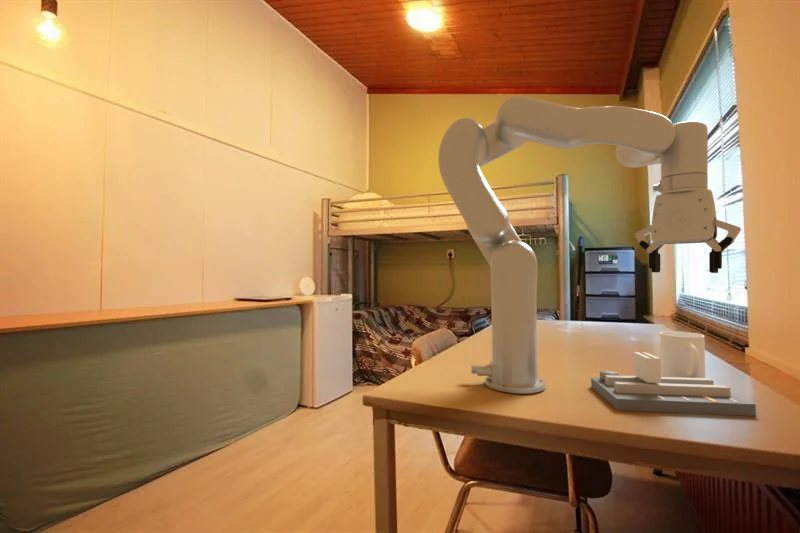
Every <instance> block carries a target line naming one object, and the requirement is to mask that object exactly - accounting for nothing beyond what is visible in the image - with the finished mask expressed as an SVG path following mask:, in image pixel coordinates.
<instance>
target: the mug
mask: <svg viewBox="0 0 800 533" xmlns="http://www.w3.org/2000/svg"><path fill="white" fill-rule="evenodd" d="M705 347H706V343H705V335H704V334H701V333H697V332H689V331H688V332H687V331H674V330H673V331H670V330H669V331H668V330H667V331H666V330H665V331H660V332H659V358H660V360H661V377H684V378H706V353H705V352H706V351H705V350H706V348H705Z"/></svg>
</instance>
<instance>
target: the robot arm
mask: <svg viewBox="0 0 800 533" xmlns="http://www.w3.org/2000/svg"><path fill="white" fill-rule="evenodd" d="M708 136H709V133H708V127H707V124H706V123H704V122H703V121H700V120H688V121H687V120H686V121H681V122H677V123H673V122H672V121H671V120H670V119H669V118H668V117H666V116H665V115H662V114H660V113H657V112H654V111H648V110H645V109H640V108H636V107H635V108H634V107H630V106H629V107H628V106H624V105H623V106H622V105H608V106H607V105H605V106H588V107H575V106H569V105H568V106H567V105H563V104H560V103H555V102H550V101H545V100H540V99H536V98H531V97H526V96H519V95H516V96H515V95H514V96H510V97H508V98H506V99H505V100H503V102H501V105H500V106H499V107H498V111H497V112H496V118H495V121H494V122H492V123H491V124H488V125H487V126H485V127H483V126H482V125H481V124H480V122H478V121H477V120H475V119H473V118H471V117H462V118H459V119H457V120H455V121H454V122H453V123H451V124H450V125H449V126H448V128H447V129H446V131H445V133H444V134H443V136H442V139H441V141H440V145H439V150H438V168H439V173H440V176H441V180H442V182H443V184H444V187H445V189H446V190H447V192H448V194H449V196H450V197H451V198H450V199H451V200H452V201H453V203H454V205H455V207H456V208H457V210H458V212H459V213H460V214H461V215H460V216H461V217H462V218H463V220H464V222H465V224H466V227H467V230H468V232H469V234H470V236H471V237H472V239H473V240H474V242H475V244H476V245H477V247H478V249H479V251H480V252H481V254H482V256H483V257H484V258H485V260H486V262H487V263H488V265H489V268H490V288H491V289H490V294H491V295H490V296H491V297H490V298H491V300H490V301H491V302H490V304H491V306H490V308H491V353H492V354H491V359H492V360H489V364H485V365H479V364H478V365H476V364H472V365H471V367H470V368H471V375H476V376H477V377H483V376H485V379H484V383H485V385H486V386H487V387H488V388H490V389H492V390H494V391H495V390H496V391H498V392H503V393H509V394H523V395H524V394H525V395H526V394H536V393H540V392H543V391H544V390H545V389H546V381H545V380H544V379H542V378H540V377H539V374H538V373H539V372H538V371H539V369H538V368H539V367H538V365H539V364H538V361H539V360H538V314H537V313H538V312H537V311H538V308H537V307H538V306H537V304H538V303H537V300H538V299H537V298H538V297H537V296H538V295H537V292H538V291H537V290H538V287H537V286H538V270H539V268H538V259H537V256H536V253H535V252H534V250H533V249H532V247H531V246H529V245H528V243H525V242H524V241H522V239H521V238H520V236H519V235H518V234H517V231H516V230H515V227H513V225H512V223H511V221H510V217H509V214H508V211H507V210H506V208H505V207H504V205H502V203H501V202H500V200H499V199H498V197H497V196H496V194H495V192H494V191H493V190H492V188H491V186H490V184H489V183H488V181H487V179H486V178H485V175H484V174H483V172H482V171H481V167H483V166H485V165H488V164H489V163H491V162H494V161H495V160H497V159H499V158H502V157H503V156H505V155H508V154H509V153H511V152H513V151H515V150H516V149H518V148H520V147H521V146H523V145H524V144H526V143H527V142H530V143H535V144H539V145H543V146H547V147H551V148H556V149H559V150H570V149H576V148H578V147H582V146H586V145H587V146H588V145H601V144H602V145H610V146H616V148H615V157H616V160H617V161H618V163H619V164H621V165H622V166H624V167H627V168H633V169H634V168H642V167H646V166H653V165H660V180H659V183H657V184H653V186H652V191H653V192H659V193H660V194H657V195H656V196H655V198H654V202H653V209H652V217H651V224H650V225H648V226H647V227H645V228H643V229H641V230H638V231H637V232H635V233H634V237H635V238H636V240H637V242H638V244H639V246H640V247H642V249H644V250H645V251H646V252H647V254H648V269H651V273H660V272H661V254H660V253H659V250H661V249H662V247H663V246H664V245H680V244H681V245H683V244H701V243H702V244H704V243H706V245H708V246H709V248H711V251H710V252H709V254H708V255H709V258H708V259H709V263H708V265H709V266H708V268H709V273H711V274H718V273H719V270H720V269H721V270H722V267H723V252H724V251H725V250H726V249H727V248H728V247H730V246H731V244H733V243H735V240H736V238H737V237H738V236H739V234H740V233H741V231H742V228H741V227H740V226H736V225H733V224H731V223H728V222H724V221H722V220H720V219H717V213H716V212H717V211H716V204H715V203H716V202H715V198H714V194H713V191H712V190H711V189H708V180H709V179H708V178H709V177H708V176H709V175H708V168H709V167H708V165H709V164H708V157H709V156H708V149H709V148H708V144H709V143H708V141H709V140H708V139H709V138H708ZM718 229H723V230H724V231H727V234H726V237H725V238H723V239H722V240H720V241H719V240H717V237H718ZM649 234H650V239H651V241H652V243H650V242H648V240H647V239H646V236H648V235H649Z"/></svg>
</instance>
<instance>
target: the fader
mask: <svg viewBox="0 0 800 533" xmlns="http://www.w3.org/2000/svg"><path fill="white" fill-rule="evenodd" d="M632 356H633V376H637V377H636V382H639V383H661V377H662V376H661V360H660V357H658V356H655V355H653V354H651V353H648V352H645V351H633V355H632Z"/></svg>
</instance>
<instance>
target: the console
mask: <svg viewBox="0 0 800 533" xmlns="http://www.w3.org/2000/svg"><path fill="white" fill-rule="evenodd" d="M636 377H637V376H636V375H620V373H619V372H616V371H612V370H601V371H599V377H591V378H590V382H591V384H590V388H592V389H593V390H594V391H595V392H596V393H597V394H598V395H599V396H601V398H603V399H604V400H605V401H606V402H607V403H608V404H610V405H611V406H612V407H613V408H614V409H615V410H616V411H628V412H629V411H630V412H631V411H632V412H633V411H634V412H650V413H652V412H653V413H654V412H655V413H656V412H657V413H676V414H677V413H679V414H680V413H681V414H683V413H684V414H699V415H700V414H701V415H721V416H722V415H725V416H747V417H748V416H750V417H756V416H757V405H756V403H754V402H752V401H749V400H747V399H745V398H743V397H741V396H739V395H736V394H734V393H732V392H731V387H729V386H728V385H724V384H721V385H720V384H714V380H713V379H712V378H710V377H705V378H684V377H662V376H661V383H639V382H636Z"/></svg>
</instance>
